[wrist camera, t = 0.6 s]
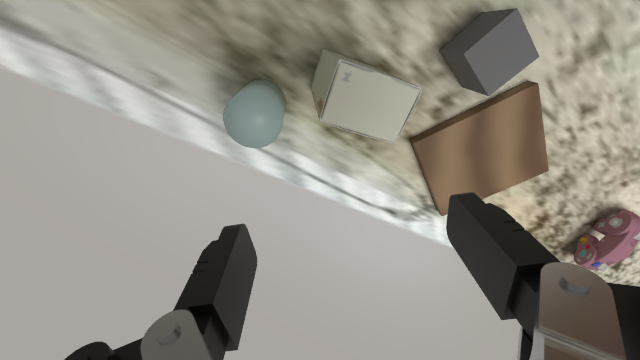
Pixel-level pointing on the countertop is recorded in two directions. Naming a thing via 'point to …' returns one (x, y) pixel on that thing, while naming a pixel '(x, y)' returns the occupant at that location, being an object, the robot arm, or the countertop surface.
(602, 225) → the video game controller
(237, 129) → the grey-green rounded block
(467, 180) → the wooden board
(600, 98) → the countertop surface
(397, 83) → the skincare box
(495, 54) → the rubber block
